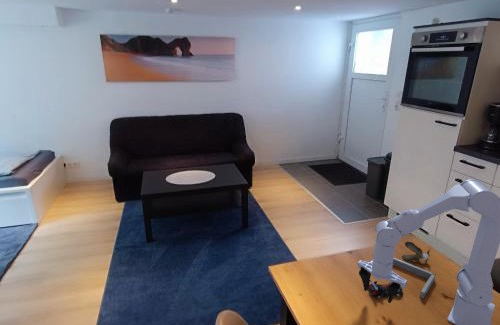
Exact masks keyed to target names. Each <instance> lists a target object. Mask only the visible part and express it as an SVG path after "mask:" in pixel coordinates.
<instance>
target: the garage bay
mask: <svg viewBox="0 0 500 325" xmlns="http://www.w3.org/2000/svg"><path fill="white" fill-rule="evenodd" d="M372 262H373V259H372V260H370V261H369V263H372ZM393 266H396V267H399V268H400V269H403V270H405V271H408V272H409V273H413V274H415V275H417V276H420V277H422V278H425V279H427V281H426V283H425V284H424V286H423V288H422V289H421V291H420V295H419V298H420V299H424V298H425V297H426V295H427V293H428V292H429V290H430V288H431V287H432V285H433V283H434V281H435V280H436V273H434V272H431V271H428V270H426V269H423V268H421V267H419V266H417V265H416V266H415V265H414V264H411V263H409V262H406V261H405V260H401V259H398V258H396V257H394V259H393Z"/></svg>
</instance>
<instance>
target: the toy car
mask: <svg viewBox="0 0 500 325" xmlns="http://www.w3.org/2000/svg"><path fill="white" fill-rule="evenodd" d="M391 284H392V282H391V281H388V283H387V284H386V283H385V284H378V280H376V281H374V282H373V280H372V279H370V284H369V288H368V290H367V291H368V293H369V294H370V296H371V297H372V298H375V299H381V298H387V297H389V286H390V285H391ZM403 291H404V289H403V288H401V287H400V289H399V290H398V291H397V292H396V293H395V295H394V296H395V297H401V296H403V295H404V292H403Z"/></svg>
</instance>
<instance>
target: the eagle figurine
mask: <svg viewBox="0 0 500 325" xmlns="http://www.w3.org/2000/svg"><path fill="white" fill-rule="evenodd" d="M404 246H405V247H406V248H408V250H410V251H411V252H413V253H414V254H403V255H401V258H402V259H403V260H404V261H407V262H409V261H412V262H413V261H414V262H415V261H416V262H417V261H420V260H422V261H424V262H425V263H426V264H427V263H428V261H429V260H430V259H429V257H431V255H430V251H431V249H430V248H428V250H427V252H424V253H423V249H422V248H421V247H418V245H416V244H415V243H414V242H413V241H409V240H408V241H406V242H404Z"/></svg>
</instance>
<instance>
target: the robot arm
mask: <svg viewBox="0 0 500 325" xmlns="http://www.w3.org/2000/svg"><path fill="white" fill-rule="evenodd" d="M469 208H471V210H472V211H473V212H475V213H477V214H479V215H481V217H480V220H479V223H478V228H477V230H476V234H475V236H474V237H475V238H474V241H473V244H472V248H471V251H470V255H469V258H468V261H467V262H466V263H463V265H462V267H461V269H459V271H457V272H456V277H455V278H456V280H457V282H458V283H459V284H458V288H457V290H456V294H455V298H454V302H453V306H452V307H451V308H452V309H451V310H450V312H449V315H448V316H447V318H446V320H447V321H448V322H450V323H451V324H454V325H492V324H493V322H492V318H493V315H494V312H495V308H496V304H494V303H492V302H493V301H494V293H493V287H494V283H493V280H492V276H491V273H492V268H493V266H494V263H495V261H496V257H497V254H498V251H499V247H500V197H499V196H498V195H497V194H496V193H495V192H493V191H491V189H489V188H488V186H486V185H485V184H484V183H482V182H481V181H480V180H478V179H474V178H470V179H466V180H463V181H462V182H461V183H457V184H455V185H453V187H452V188H450V189H449V190H448V191H447V192H445V193H444V194H442V195H440V196H439V197H437V198H435V199H434V200H432V201H430V202H428V203H427V204H425V205H424V206H422V207H421V208H418V209H412V208H411V209H410V208H409V209H408V210H406V209H403V210H402V211H401V213H400V214H398V215H396V216H394V217H392V218H389V219H387V220H381V221H379V222H377V224H376V226H374V230H375V233H376V236H375V243H374V248H373V253H372V254H373V256H372V260H373V262H372V263H370V261H365V260H361V259H360V260H359V261H358V262H357V268H358V269H360V270H359V271H358V276H359V277H360V279H361V282H362V285H363V291H364V292H367V291H368V288H369V285H370V284H371V282H370V280H371V275H372V278H373V279H375V280H377V281H380V280H384V281H388V282H392V284H391V285H390V286H389V297H388V298H387V303H388V304H391V303H392V302H393V299H394V296H395V293H396V292H397V291H398V290H399V289H400V287H401V288H402V289H403V290H404V289H405V288H406V286H407V283H408V280H407V279H405V278H403V277H402V276H400V275H399V274H397V273H396V272H394V271H393V266H394V265H393V259H394V258H395V253H396V246H397V245H398V244H399V242H400V240H401V239H402V238H403V237H405V236H407V235H409V234H411V233H412V232H415V231H417V230H419V229H421V228H422V227H424V223H425V221H427V220H430V219H432V218H435V217H437V216H439V215H442V214H444V213H446V212H449V211H451V210H458V211H462V212H468V213H469V212H470V210H469Z"/></svg>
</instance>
